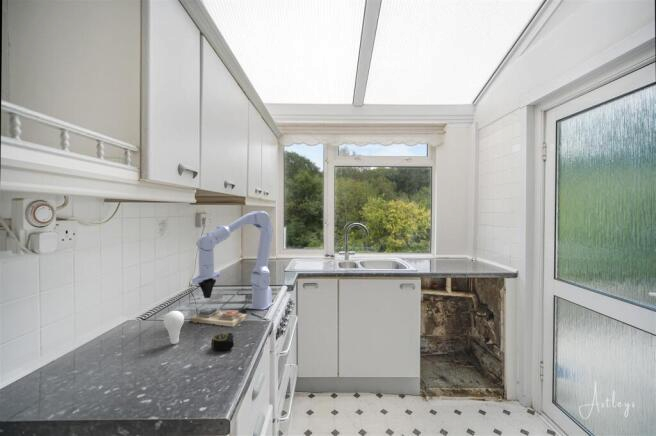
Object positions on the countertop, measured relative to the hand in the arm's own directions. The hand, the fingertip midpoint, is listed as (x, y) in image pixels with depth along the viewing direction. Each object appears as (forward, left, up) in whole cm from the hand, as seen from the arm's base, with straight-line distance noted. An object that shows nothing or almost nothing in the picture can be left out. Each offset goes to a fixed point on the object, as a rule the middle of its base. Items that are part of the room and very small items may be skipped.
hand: (207, 297), depth 124 cm
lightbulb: (+23, +5, -9) cm, 25 cm away
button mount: (0, +5, -9) cm, 10 cm away
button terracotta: (0, +11, -7) cm, 13 cm away
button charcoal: (0, 0, -7) cm, 7 cm away
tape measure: (+20, +23, -9) cm, 32 cm away
